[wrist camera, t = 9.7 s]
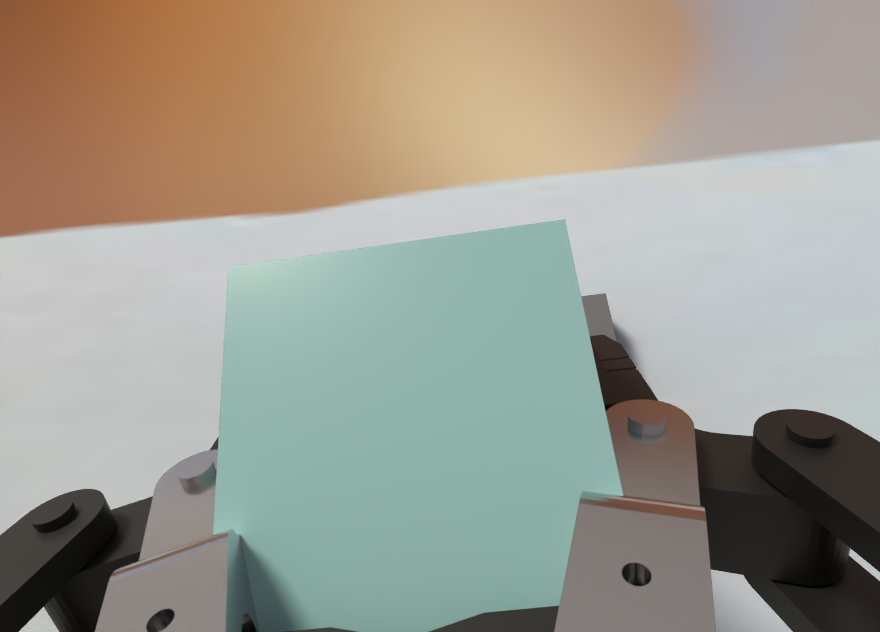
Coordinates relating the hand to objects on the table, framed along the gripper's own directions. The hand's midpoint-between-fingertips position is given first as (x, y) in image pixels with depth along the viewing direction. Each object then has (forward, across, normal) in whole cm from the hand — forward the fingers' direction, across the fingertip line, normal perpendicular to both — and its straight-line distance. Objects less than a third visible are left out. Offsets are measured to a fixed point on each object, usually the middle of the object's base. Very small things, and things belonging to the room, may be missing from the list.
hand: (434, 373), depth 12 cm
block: (+2, 0, +4) cm, 5 cm away
